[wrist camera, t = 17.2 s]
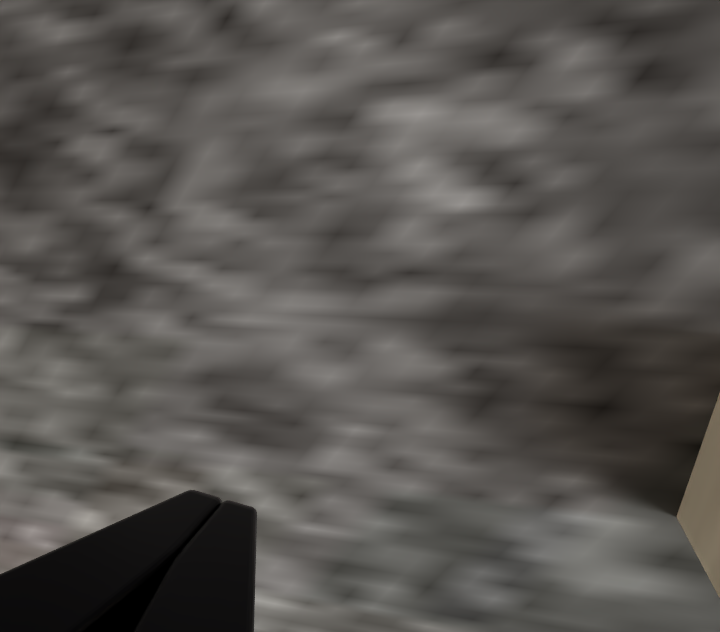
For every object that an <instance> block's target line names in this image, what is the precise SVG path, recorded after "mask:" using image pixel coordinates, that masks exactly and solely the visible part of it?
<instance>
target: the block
mask: <svg viewBox="0 0 720 632" xmlns="http://www.w3.org/2000/svg"><path fill="white" fill-rule="evenodd" d="M677 519H678V521H679V523H680V525H681V526H682V528H683V530H684V532H685V534H686V536H687V538H688V540H689V541H690V543H691V545H692V547H693V549H694V551H695V553H696V555H697V556H698V558H699V560H700V562H701V564H702V566H703V568H704V570H705V571H706V573H707V575H708V577H709V579H710V581H711V583H712V585H713V586H714V588H715V590H716V592H717V594H718V596H719V598H720V393H719V396H718V399H717V402H716V405H715V408H714V410H713V413H712V416H711V419H710V422H709V425H708V428H707V430H706V433H705V436H704V439H703V442H702V445H701V448H700V451H699V453H698V456H697V459H696V462H695V465H694V468H693V471H692V473H691V476H690V479H689V482H688V485H687V488H686V491H685V494H684V496H683V499H682V502H681V505H680V508H679V511H678V514H677Z"/></svg>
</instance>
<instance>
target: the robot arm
mask: <svg viewBox="0 0 720 632" xmlns="http://www.w3.org/2000/svg"><path fill="white" fill-rule="evenodd" d="M256 528H257V512H256V510H255V509H254V508H253V507H250V506H246V505H243V504H240V503H236V502H233V501H224V502H222V500H221V499H220V498H219V497H216V496H212V495H209V494H206V493H202V492H199V491H195V490H189V491H186V492H184V493H181V494H179V495H177V496H175V497H173V498H170V499H168V500H166V501H164V502H161V503H159V504H157V505H155V506H152V507H150V508H148V509H146V510H143V511H141V512H139V513H137V514H134V515H132V516H130V517H128V518H125V519H123V520H121V521H119V522H116V523H114V524H112V525H110V526H107V527H105V528H103V529H101V530H99V531H96V532H94V533H92V534H90V535H87V536H85V537H83V538H81V539H78V540H76V541H74V542H72V543H69V544H67V545H65V546H63V547H60V548H58V549H56V550H54V551H51V552H49V553H47V554H45V555H42V556H40V557H38V558H36V559H34V560H31V561H29V562H27V563H25V564H22V565H20V566H18V567H16V568H13V569H11V570H9V571H7V572H4V573H2V574H0V632H254V605H255V566H256Z"/></svg>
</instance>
